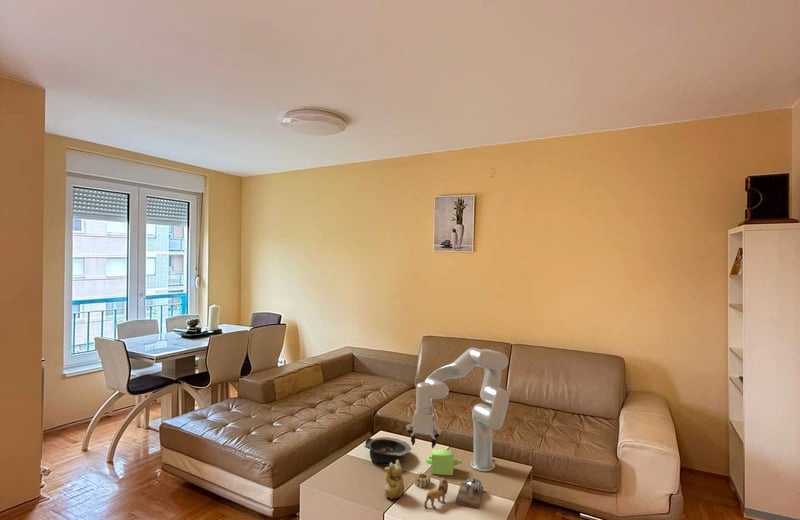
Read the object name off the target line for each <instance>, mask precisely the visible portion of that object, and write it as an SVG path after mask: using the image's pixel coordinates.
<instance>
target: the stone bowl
mask: <svg viewBox="0 0 800 520" xmlns="http://www.w3.org/2000/svg"><path fill="white" fill-rule="evenodd" d="M363 447H364V448H366V449H368V450H369V457H370V460H371V462H372V463H374V464H381V463H388V465H390V463H393V464H396V460H399V462H402V460H403V458H404V457H405V455H406V454H408V453H410V452H411V451H412V450H413V449H412V446H411V445H410V444H409V443H408V442H406V441H405V440H401V439H399V438H394V437H389V436H384V437H383V436H382V437H375V438H371V437H369V438H367V439H366V440H365V445H364V446H363Z"/></svg>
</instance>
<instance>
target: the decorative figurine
mask: <svg viewBox="0 0 800 520" xmlns="http://www.w3.org/2000/svg"><path fill="white" fill-rule="evenodd" d="M400 462H401V461H400ZM400 462H399V460H396V464H393V463H390V464H388V465H389V466H386V467H384V471H386V477H385V482H386V483H387V484H385V486H384V492H383V494H384V496H386V497H387V498H389V499H391V500H392V501H394V500H396V499H398V498H401V497H402V495H403V494H404V492H405V483H404V477H403V476H402V475H403V468H402V466H401V463H400Z"/></svg>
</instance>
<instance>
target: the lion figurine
mask: <svg viewBox="0 0 800 520" xmlns="http://www.w3.org/2000/svg"><path fill="white" fill-rule="evenodd" d="M438 481H439V484H438V488H436V489H434V490H432V489H431V490H428V491H427V493H426V498H425V500H424V504H423V507H424V511H426V510H428V509H427V508H428V506H427V505H428V501H429V500H430V502H431V504H430V505H431V507H432V509H436V508H437V507H436V505H435V500H436V499H437V501H438V502H442V504H446V501H445V499H446V494H448V489H449V483H448V481H447V478H443V477H442V478H441V479H439V480H438ZM441 498H442V500H441Z"/></svg>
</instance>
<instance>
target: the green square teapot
mask: <svg viewBox="0 0 800 520" xmlns="http://www.w3.org/2000/svg"><path fill="white" fill-rule="evenodd" d="M425 461H426V462H425V464H429V465H431V472H430V473H431V474H433V475H439V476H440V475H441V476H454V466H457V465H461V464H463V460H462V459H455V460H454V450H451V449H439V448H437V449H436V448H432V450H431V455H427V456H426V458H425Z"/></svg>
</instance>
